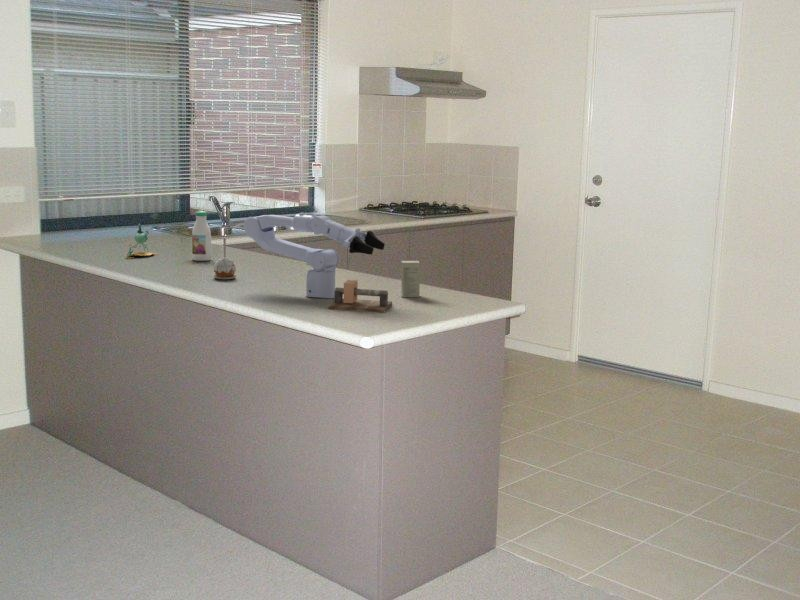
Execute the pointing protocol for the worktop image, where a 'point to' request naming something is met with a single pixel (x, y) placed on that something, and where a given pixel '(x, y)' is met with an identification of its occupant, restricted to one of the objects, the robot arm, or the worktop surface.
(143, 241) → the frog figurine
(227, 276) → the decorative ornament
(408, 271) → the skincare box
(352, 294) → the collar
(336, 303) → the pipe rig
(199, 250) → the milk bottle
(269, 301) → the worktop surface
